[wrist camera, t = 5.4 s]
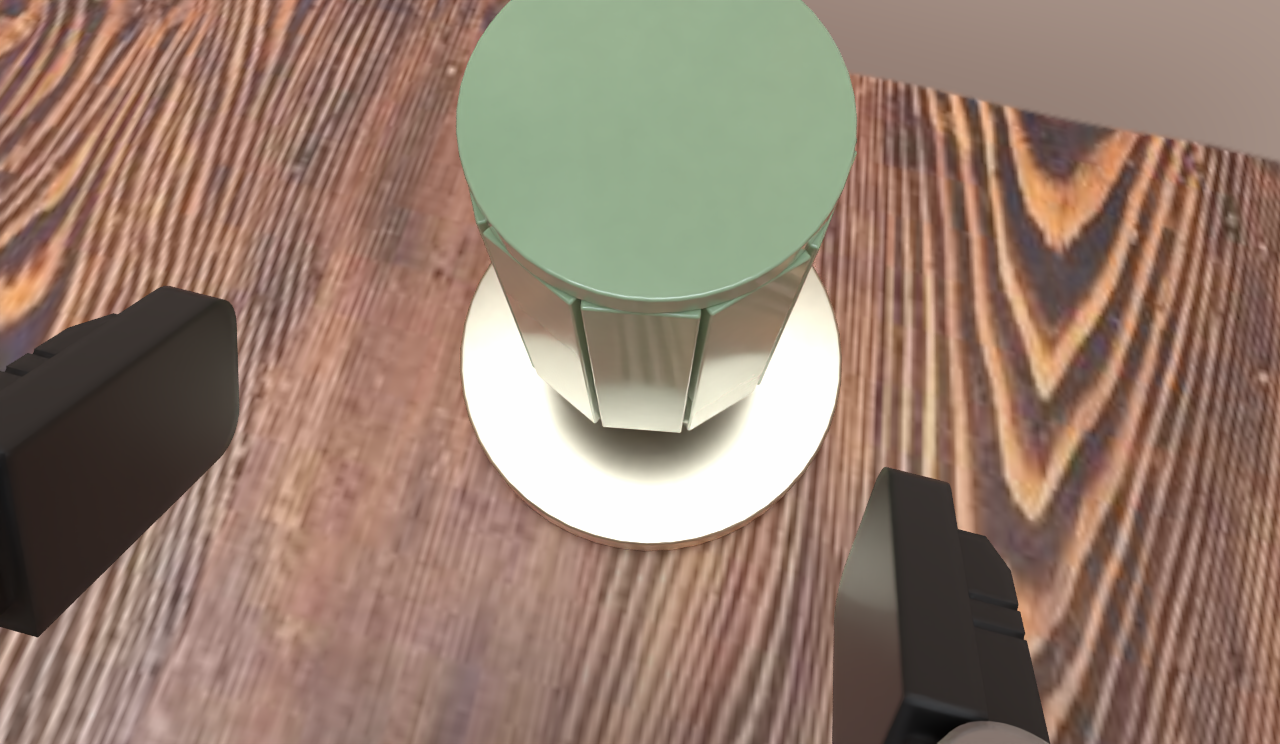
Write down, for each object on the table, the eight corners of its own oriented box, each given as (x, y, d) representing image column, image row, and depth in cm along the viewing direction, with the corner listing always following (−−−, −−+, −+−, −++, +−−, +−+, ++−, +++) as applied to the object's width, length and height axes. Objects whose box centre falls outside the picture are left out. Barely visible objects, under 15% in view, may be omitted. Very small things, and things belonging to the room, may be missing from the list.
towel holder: (777, 167, 32) (876, -193, 18) (878, 501, 29) (1088, 368, 15) (439, 242, 31) (280, -76, 17) (507, 591, 28) (380, 535, 14)
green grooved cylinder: (742, 158, 25) (792, -96, 17) (813, 401, 24) (912, 257, 15) (498, 211, 25) (422, -21, 16) (552, 462, 23) (499, 351, 15)
